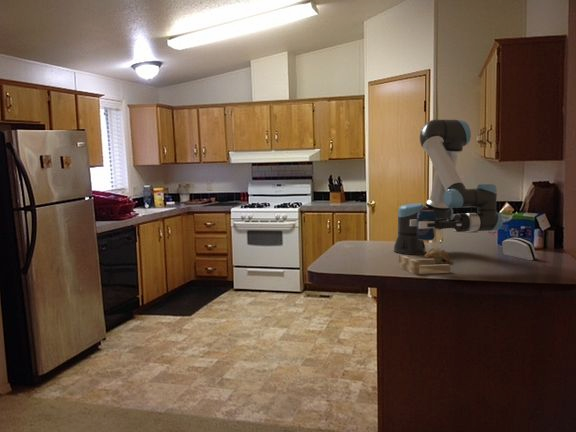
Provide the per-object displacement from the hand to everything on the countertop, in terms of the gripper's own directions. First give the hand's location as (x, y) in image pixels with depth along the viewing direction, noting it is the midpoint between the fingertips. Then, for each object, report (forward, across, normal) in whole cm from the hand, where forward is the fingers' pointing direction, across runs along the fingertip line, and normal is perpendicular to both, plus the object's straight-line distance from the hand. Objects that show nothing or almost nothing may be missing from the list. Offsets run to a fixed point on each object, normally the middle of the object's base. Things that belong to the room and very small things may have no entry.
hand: (414, 224), depth 201 cm
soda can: (-5, 0, -7) cm, 8 cm away
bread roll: (-19, +15, -19) cm, 31 cm away
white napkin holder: (-61, +16, -19) cm, 66 cm away
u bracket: (-5, 0, -19) cm, 19 cm away
